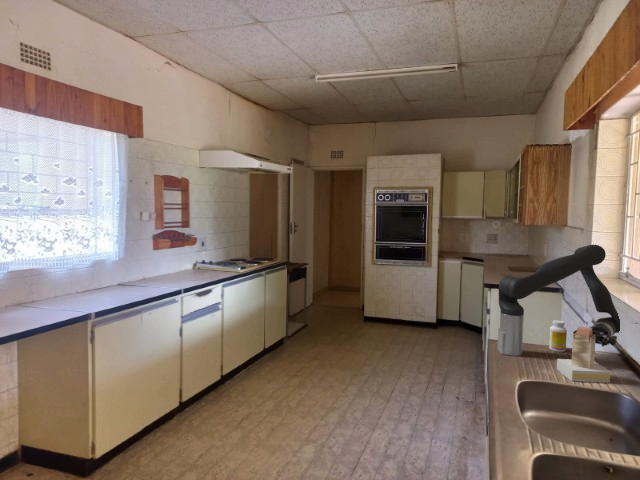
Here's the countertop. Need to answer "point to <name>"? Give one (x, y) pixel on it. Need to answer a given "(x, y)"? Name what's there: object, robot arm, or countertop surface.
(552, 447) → the countertop surface
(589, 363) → the box
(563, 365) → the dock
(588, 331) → the block
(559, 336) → the supplement bottle
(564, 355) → the countertop surface
